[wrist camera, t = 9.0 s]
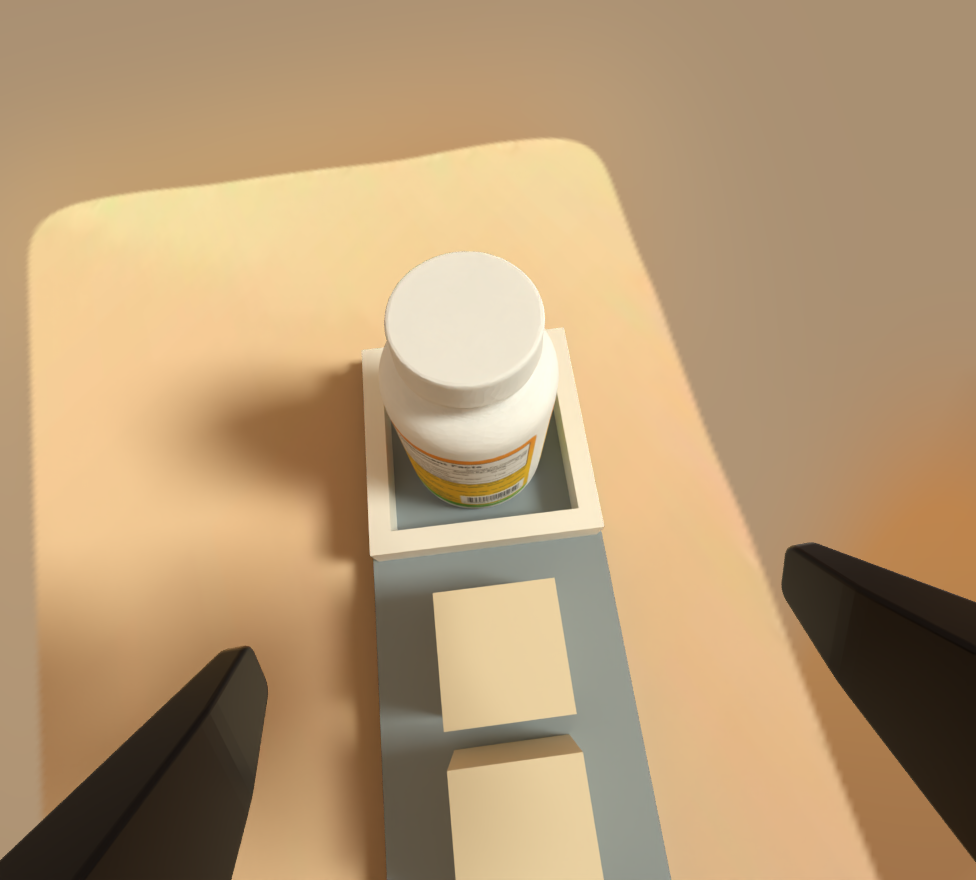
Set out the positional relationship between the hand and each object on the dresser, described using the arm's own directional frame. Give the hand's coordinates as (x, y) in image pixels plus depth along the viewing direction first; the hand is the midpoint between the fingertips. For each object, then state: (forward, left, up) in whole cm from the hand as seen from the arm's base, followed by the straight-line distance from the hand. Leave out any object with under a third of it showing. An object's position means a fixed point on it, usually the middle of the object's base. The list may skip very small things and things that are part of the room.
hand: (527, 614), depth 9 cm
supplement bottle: (+7, 0, -12) cm, 14 cm away
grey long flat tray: (+1, 0, -12) cm, 12 cm away
